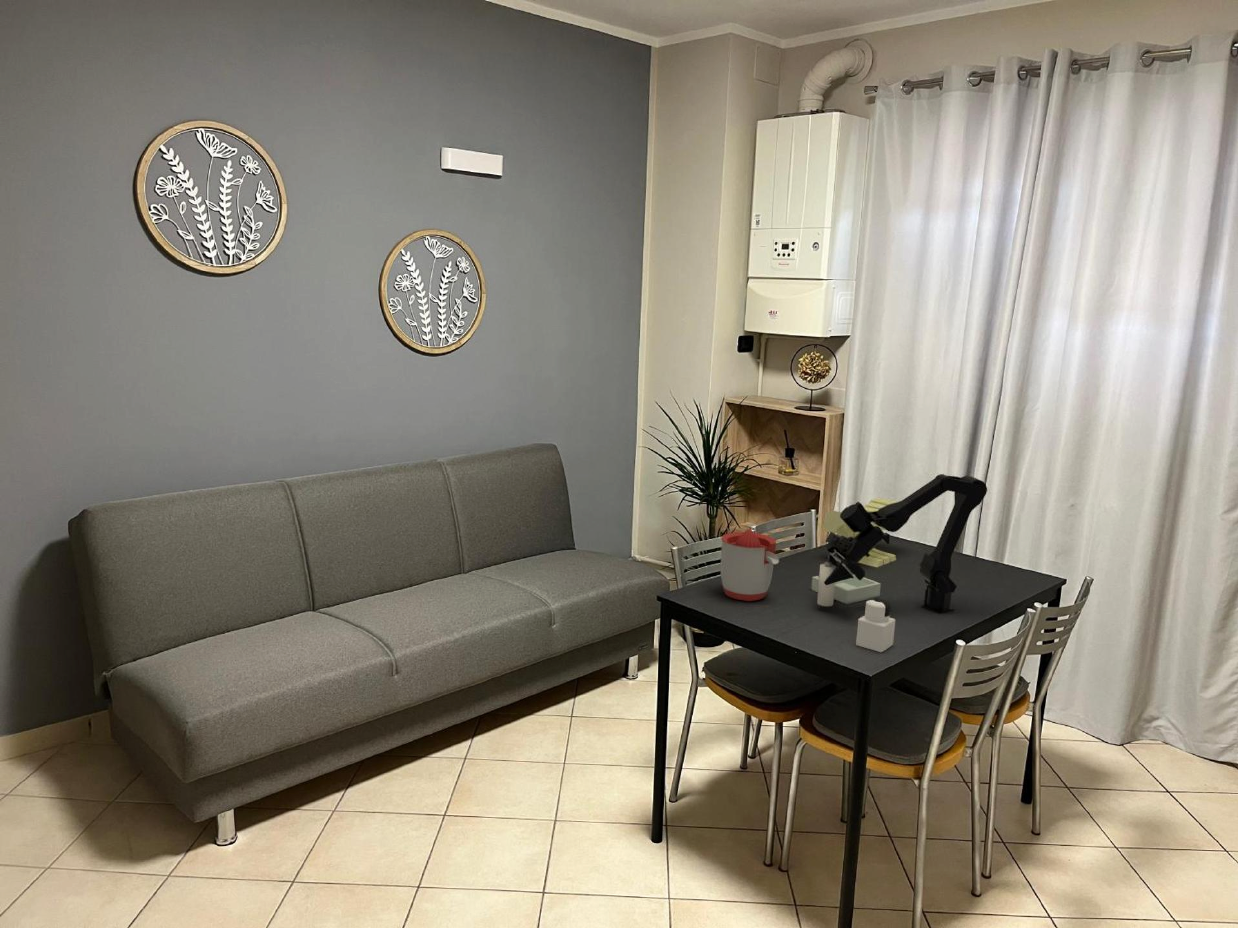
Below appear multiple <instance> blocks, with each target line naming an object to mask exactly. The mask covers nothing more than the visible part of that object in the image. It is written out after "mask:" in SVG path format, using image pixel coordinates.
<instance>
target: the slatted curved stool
mask: <svg viewBox="0 0 1238 928" xmlns="http://www.w3.org/2000/svg"><path fill="white" fill-rule="evenodd" d="M896 502H899V501H898V500H892V499H888V498H883V497H877V498H876V497H875V498H873V499H871V500H870V501H869V502H868V503H867V504H865V505H864V508H865V510H866V511H867V512H873V511H878V510H879V509H880V508H882V507H885V506H887V505H889V504H892V503H896ZM841 512H842V511H837V510H830V511H828V512H827V513H826V514H825V516H824V520H823V528H822V529H823V530H822V531H823V532H827V533H830V532H833V533H835V534H837V535H839V536H842V535H843V536H844V537H847V538H849V537H853V538H854V537H855V536H856V535H857V534H858V533H860V532H853V531H852V530H851V529H850V528H849V527H848V526H847V525H846V523H845V522H844V521H843V520H842V519H841V518H840V514H841ZM871 524H872V525H873V526H878V525H876V524H875V523H873V522H871ZM878 527H879V528H880V529H881V530H882V531H883V532H884V531H886V530H885V529H884V528H882V527H880V526H878ZM869 554H870V556H869V557H868V558H867V557H866V556H864V557H863V558H862V559H861V560H860V561H859V562H858V564H859V563H860V564H862V565H866V566H870V567H873V568H879V567H882V566H883V565H887V564H890V563H891V562H895V561H897V556H896V555H895V554H893V553H889V552H887V551H886V552H885V551H882V550H880V549H877V548H875V547H874V548H873V549H872V550H871V551H870V552H869Z"/></svg>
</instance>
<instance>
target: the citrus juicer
mask: <svg viewBox="0 0 1238 928" xmlns="http://www.w3.org/2000/svg"><path fill="white" fill-rule="evenodd" d="M721 541H722V542H721V555H720V577H721V584H722V589H723V591H724V594H725V596H727V597H729V598H731V599H735V600H738V601H745V602H753V601H758V600H761V599H764V598H765V597H766V595H767V592H768V591H769V587H770V585H771V582H772V578H773V572H774V570H773V569H774V565H777V564H779V562H780V559H779V556H778V555H776V545H777V541H776V540H775V539H774V538H773V537H771V536H769V535H766V534H763V533H762V534H761V533H756V532H754V531H753V530H752V529H750V528H747V529H746V530H745V531H740V532H739V531H737V532H736V531H735V532H729V533H725V534H723V535H721Z"/></svg>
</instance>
